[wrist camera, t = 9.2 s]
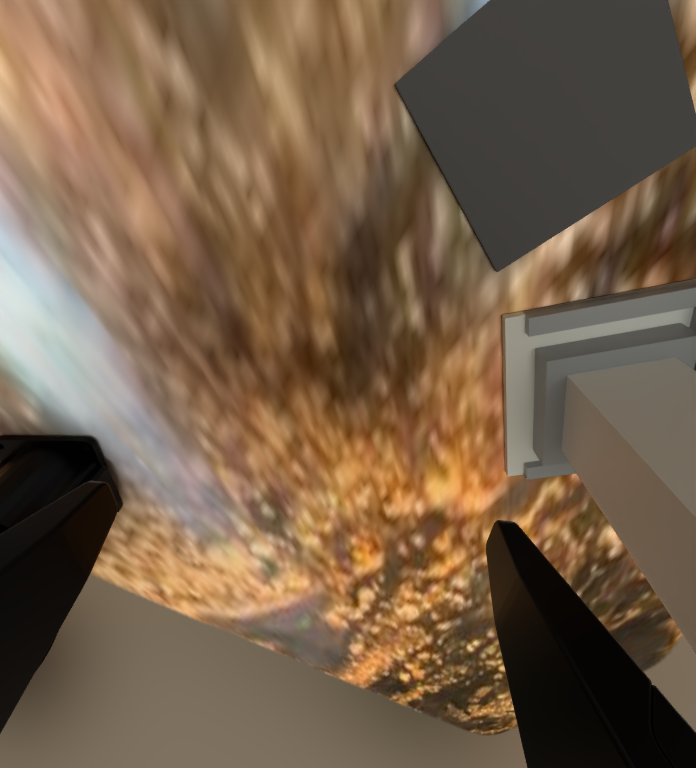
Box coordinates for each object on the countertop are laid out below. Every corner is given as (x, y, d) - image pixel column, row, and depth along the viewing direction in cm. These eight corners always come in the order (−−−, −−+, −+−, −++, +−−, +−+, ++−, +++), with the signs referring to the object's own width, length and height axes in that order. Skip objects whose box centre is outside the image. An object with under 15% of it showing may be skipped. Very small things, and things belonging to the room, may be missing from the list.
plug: (532, 449, 24) (702, 746, 12) (535, 348, 21) (775, 624, 9) (656, 431, 23) (969, 733, 11) (680, 322, 20) (1169, 592, 8)
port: (505, 470, 26) (523, 512, 23) (502, 314, 20) (525, 342, 17) (674, 447, 25) (716, 488, 22) (719, 274, 19) (784, 297, 16)
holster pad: (495, 270, 19) (497, 272, 19) (394, 84, 16) (394, 83, 15) (697, 142, 16) (702, 141, 16) (631, -123, 13) (636, -129, 12)
